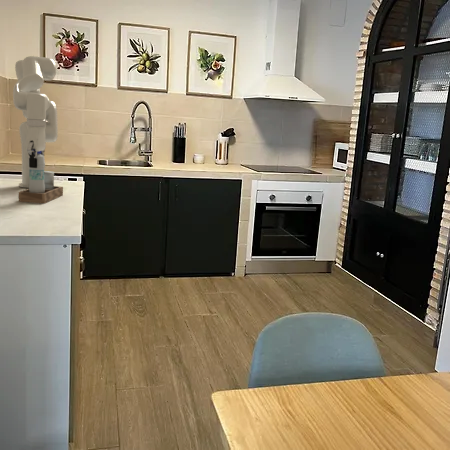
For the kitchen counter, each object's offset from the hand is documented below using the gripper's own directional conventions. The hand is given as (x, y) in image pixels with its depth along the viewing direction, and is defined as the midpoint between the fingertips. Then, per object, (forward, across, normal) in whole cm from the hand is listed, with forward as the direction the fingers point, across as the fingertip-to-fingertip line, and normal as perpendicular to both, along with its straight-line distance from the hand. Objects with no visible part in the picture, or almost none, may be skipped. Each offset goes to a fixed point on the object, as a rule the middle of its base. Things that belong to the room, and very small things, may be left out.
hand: (36, 166), depth 213 cm
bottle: (+12, 0, 0) cm, 12 cm away
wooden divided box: (+14, -5, 0) cm, 15 cm away
